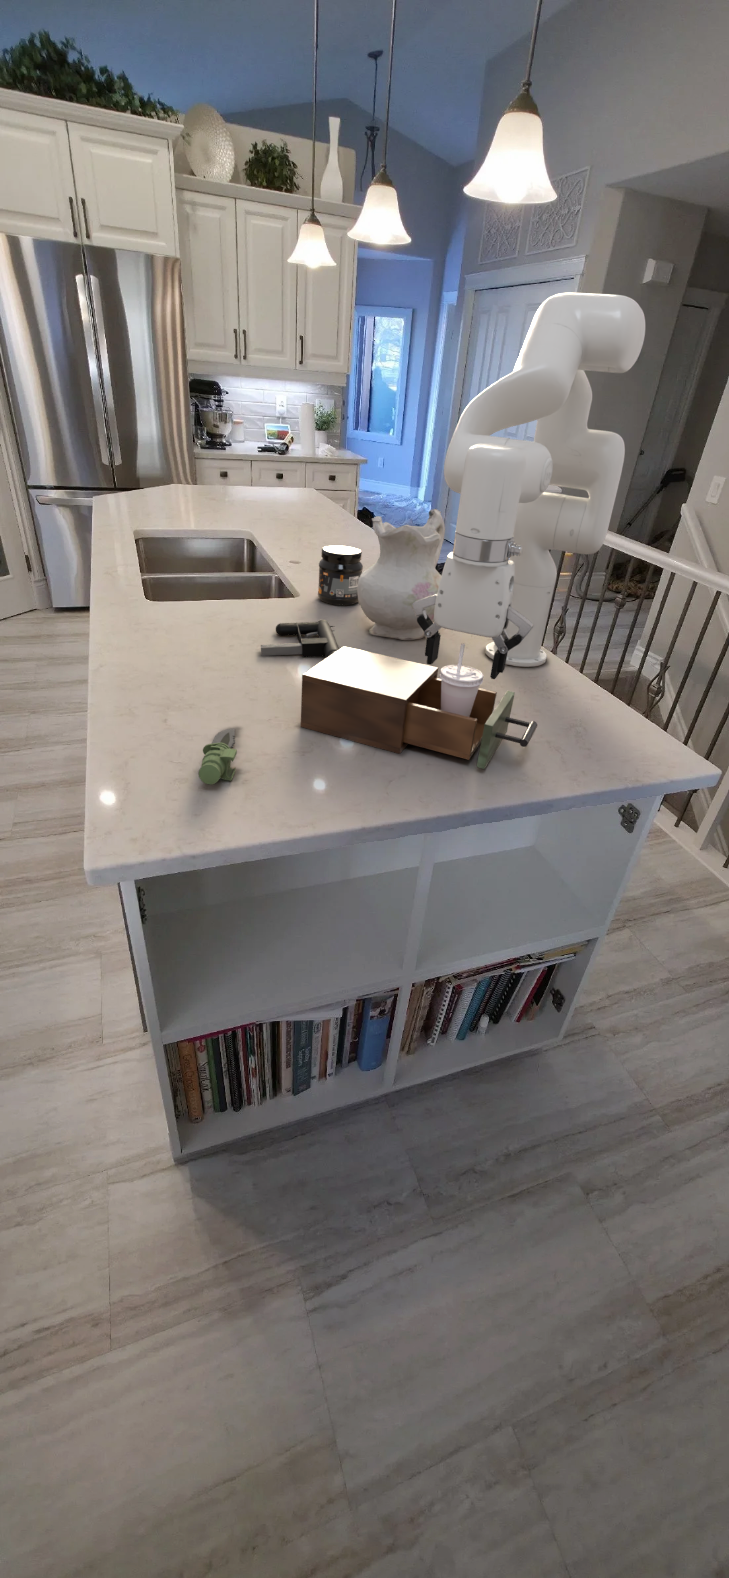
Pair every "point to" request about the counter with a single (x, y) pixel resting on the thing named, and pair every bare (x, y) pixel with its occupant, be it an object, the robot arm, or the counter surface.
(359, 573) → the supplement container
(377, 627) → the ceramic pitcher
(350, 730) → the cabinet
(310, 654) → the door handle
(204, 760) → the knife
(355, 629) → the counter surface
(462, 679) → the smoothie
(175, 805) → the counter surface
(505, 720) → the drawer
